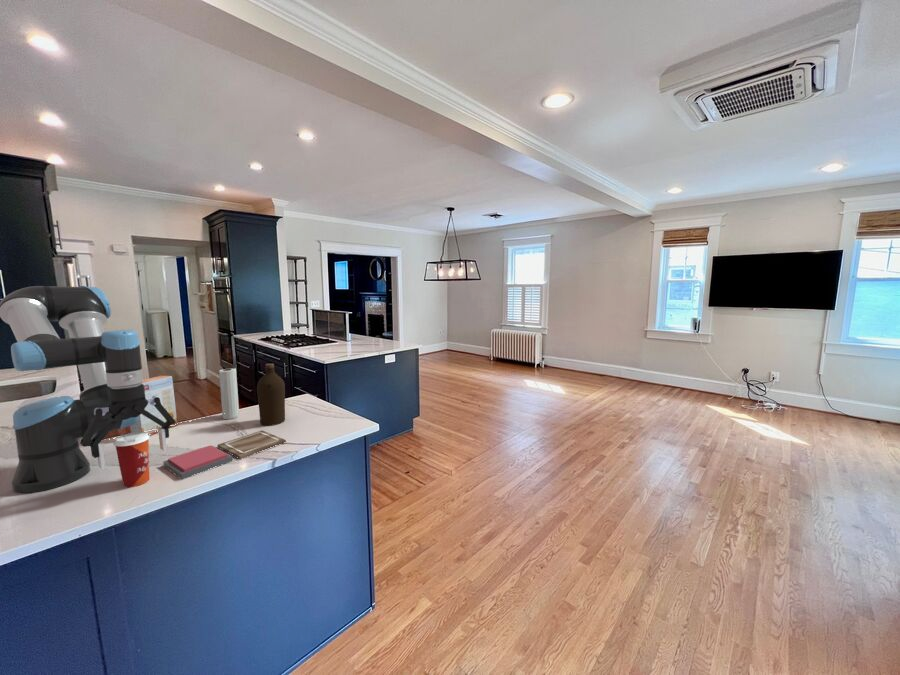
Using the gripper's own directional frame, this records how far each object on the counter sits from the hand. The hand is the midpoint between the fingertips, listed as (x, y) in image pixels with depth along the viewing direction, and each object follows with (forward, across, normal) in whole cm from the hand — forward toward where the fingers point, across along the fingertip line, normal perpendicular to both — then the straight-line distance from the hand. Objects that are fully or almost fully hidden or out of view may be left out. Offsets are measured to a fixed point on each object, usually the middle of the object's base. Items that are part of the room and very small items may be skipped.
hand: (134, 458), depth 102 cm
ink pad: (+8, +15, -2) cm, 17 cm away
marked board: (+8, +32, -2) cm, 33 cm away
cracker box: (+7, +17, +42) cm, 46 cm away
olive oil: (+8, +49, +14) cm, 52 cm away
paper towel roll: (+7, +42, +34) cm, 55 cm away
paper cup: (+8, 0, 0) cm, 8 cm away
